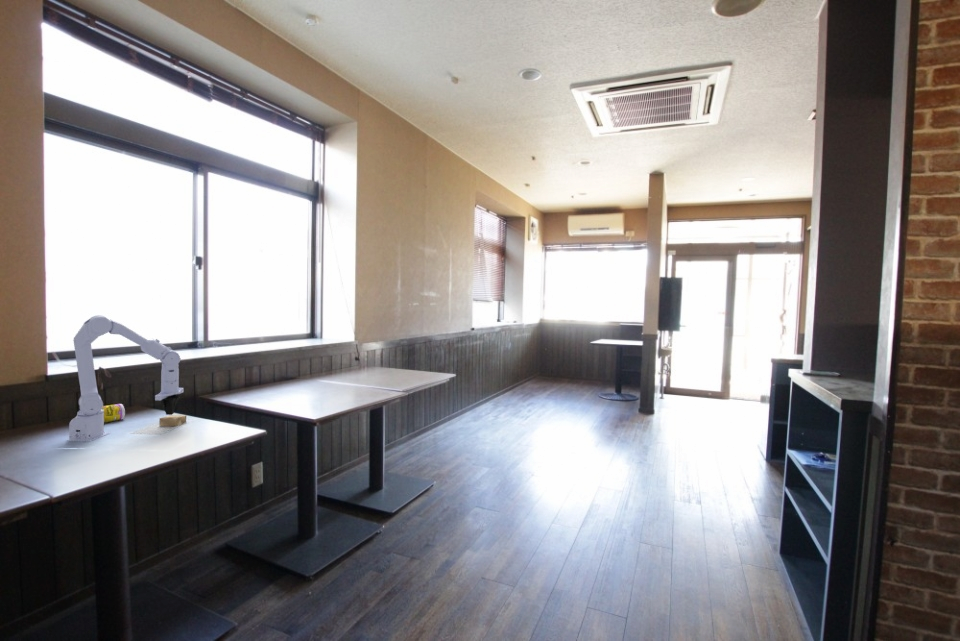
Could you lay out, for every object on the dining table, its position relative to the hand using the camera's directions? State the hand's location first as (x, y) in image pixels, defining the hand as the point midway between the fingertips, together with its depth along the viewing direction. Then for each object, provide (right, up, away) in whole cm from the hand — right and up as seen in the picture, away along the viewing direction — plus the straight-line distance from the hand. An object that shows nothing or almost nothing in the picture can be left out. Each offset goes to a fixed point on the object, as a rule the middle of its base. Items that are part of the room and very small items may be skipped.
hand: (169, 414), depth 177 cm
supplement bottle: (-24, 0, +6) cm, 25 cm away
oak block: (0, -3, -2) cm, 3 cm away
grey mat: (-1, -5, -5) cm, 7 cm away
